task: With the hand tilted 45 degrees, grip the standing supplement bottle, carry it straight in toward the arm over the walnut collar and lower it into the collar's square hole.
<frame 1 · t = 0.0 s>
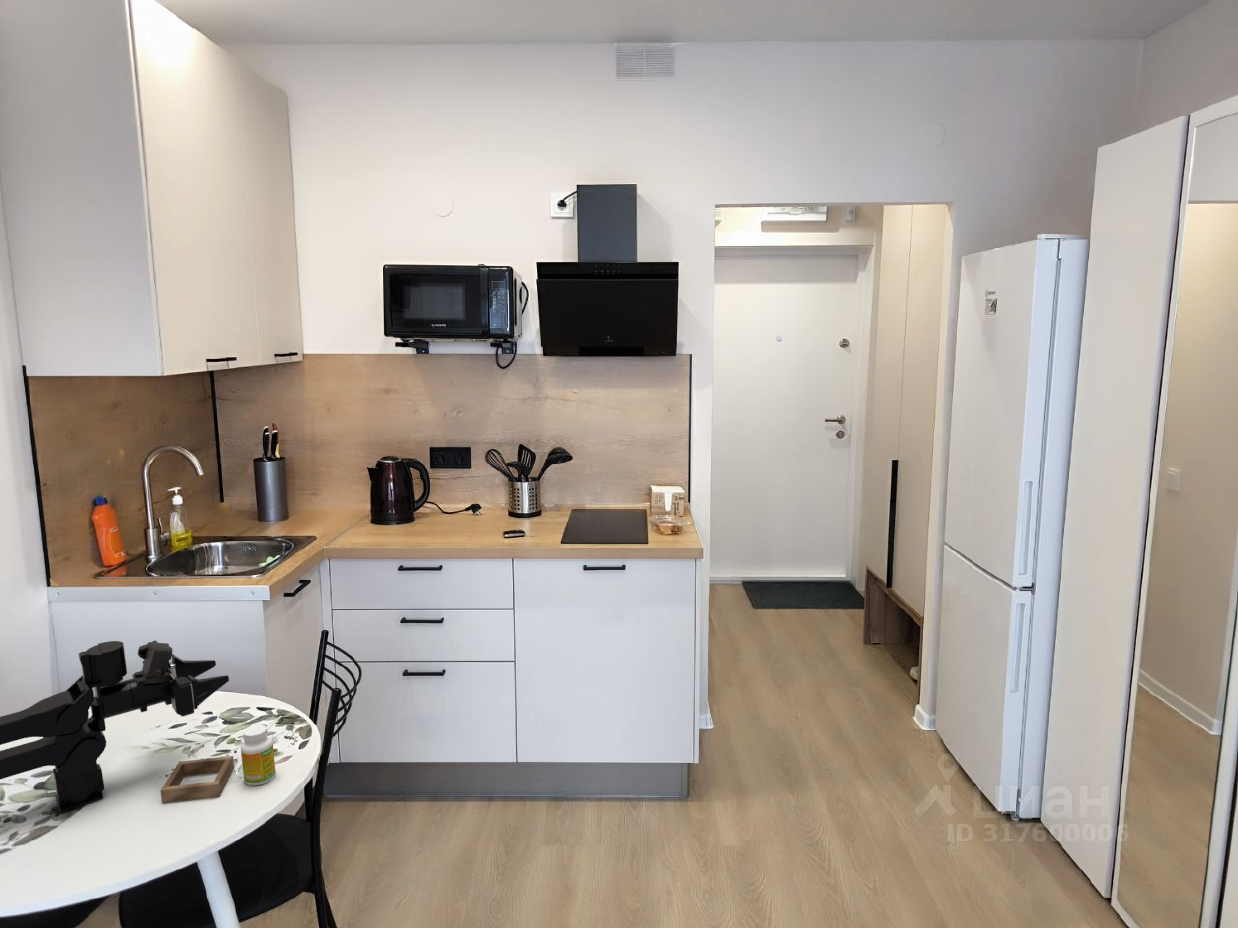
hand: (221, 670, 157), 17 cm above the table, tool horizontal, fingers open, 9 cm apart
supplement bottle: (260, 778, 150), on the table
walnut collar: (199, 784, 148), on the table
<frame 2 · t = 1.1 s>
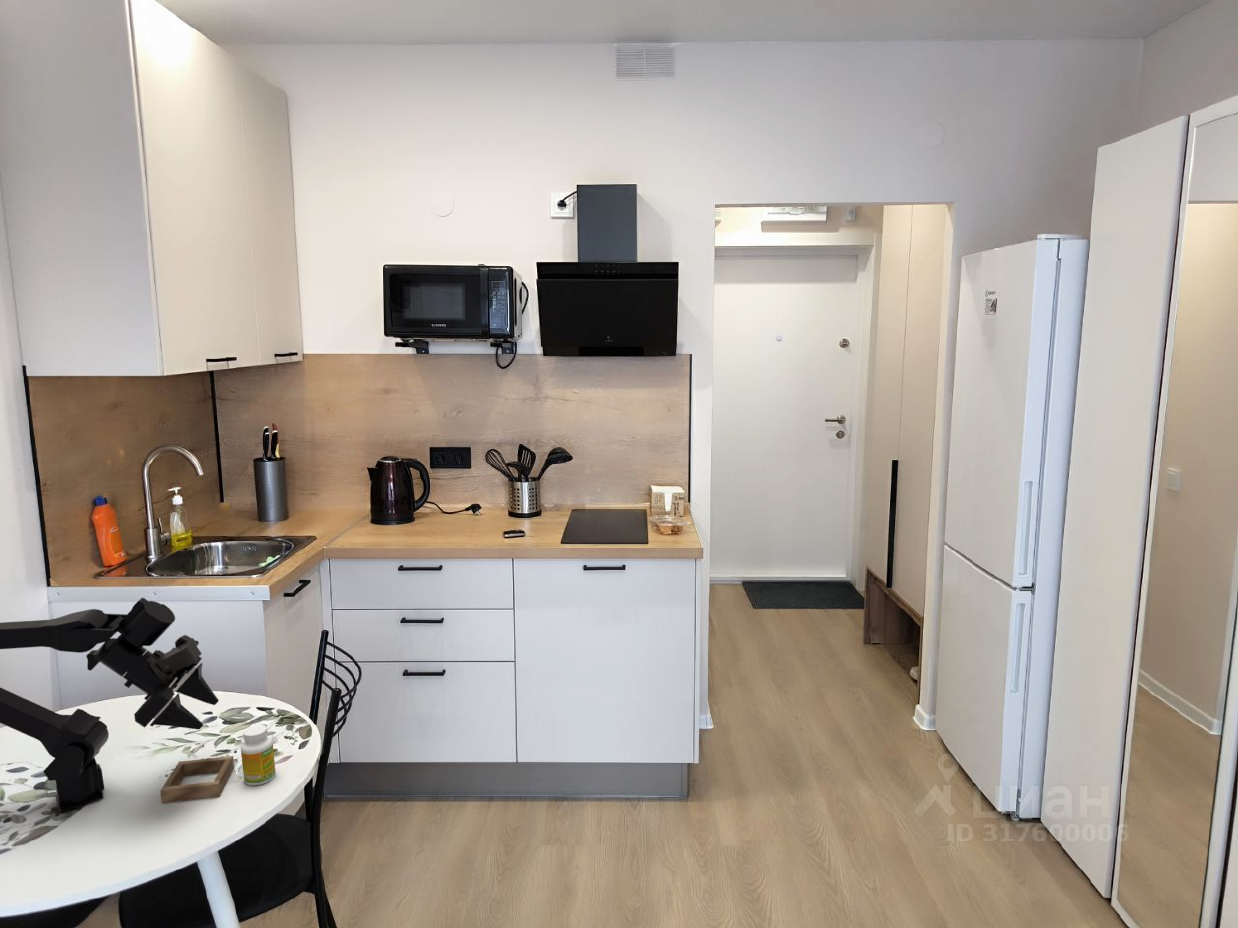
hand: (209, 714, 146), 14 cm above the table, tool tilted 45°, fingers open, 9 cm apart
nothing on the table moved.
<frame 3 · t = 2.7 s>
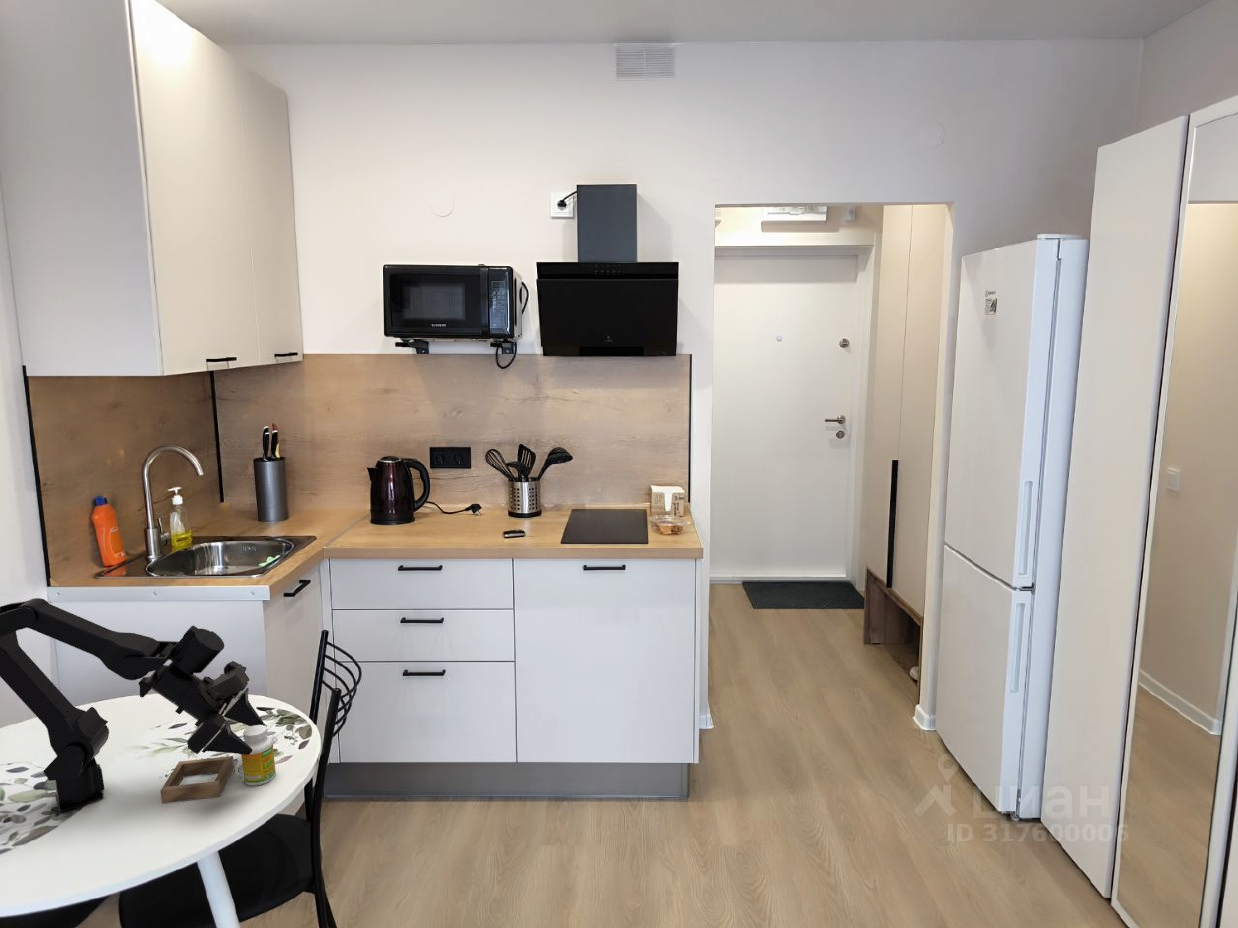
hand: (257, 739, 148), 8 cm above the table, tool tilted 45°, fingers open, 9 cm apart
nothing on the table moved.
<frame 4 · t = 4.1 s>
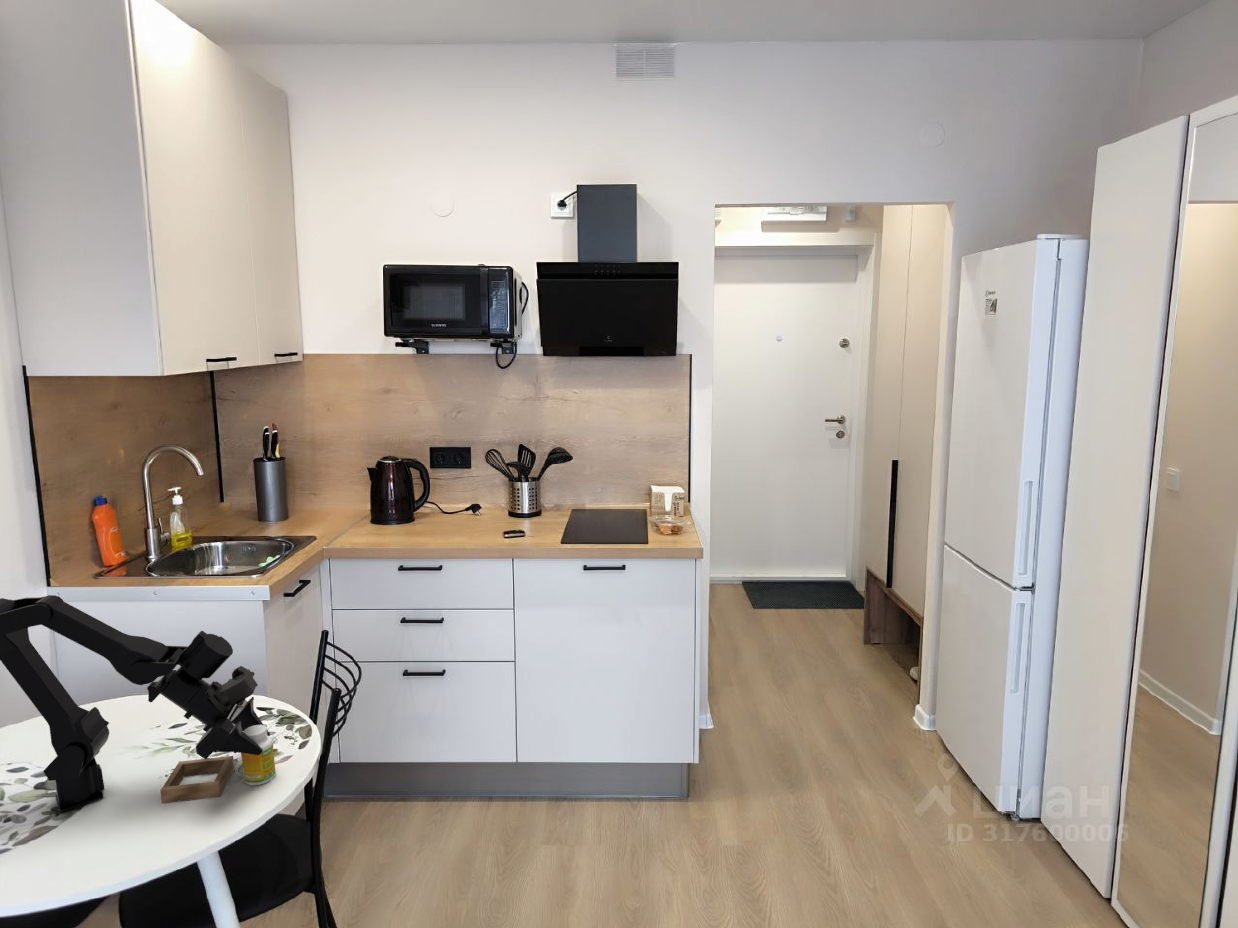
hand: (264, 744, 149), 7 cm above the table, tool tilted 45°, fingers closed on supplement bottle, 5 cm apart
supplement bottle: (260, 778, 150), on the table, touching gripper
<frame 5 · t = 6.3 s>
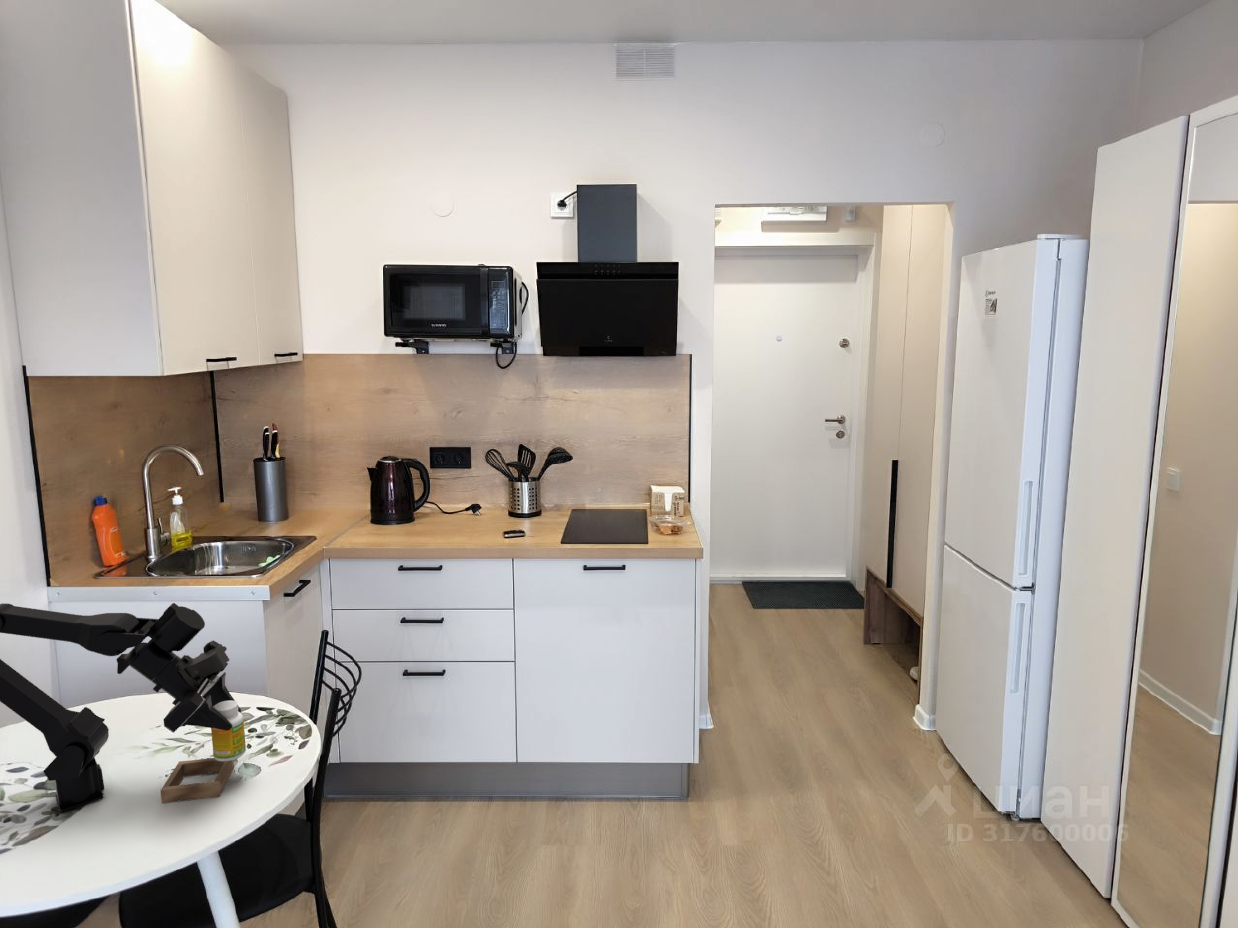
hand: (235, 720, 147), 12 cm above the table, tool tilted 45°, fingers closed on supplement bottle, 5 cm apart
supplement bottle: (230, 755, 148), point 5 cm above the table, touching gripper
when the fingers open (8 cm above the table, at t = 8.6 s): supplement bottle stays where it is, resting in walnut collar.
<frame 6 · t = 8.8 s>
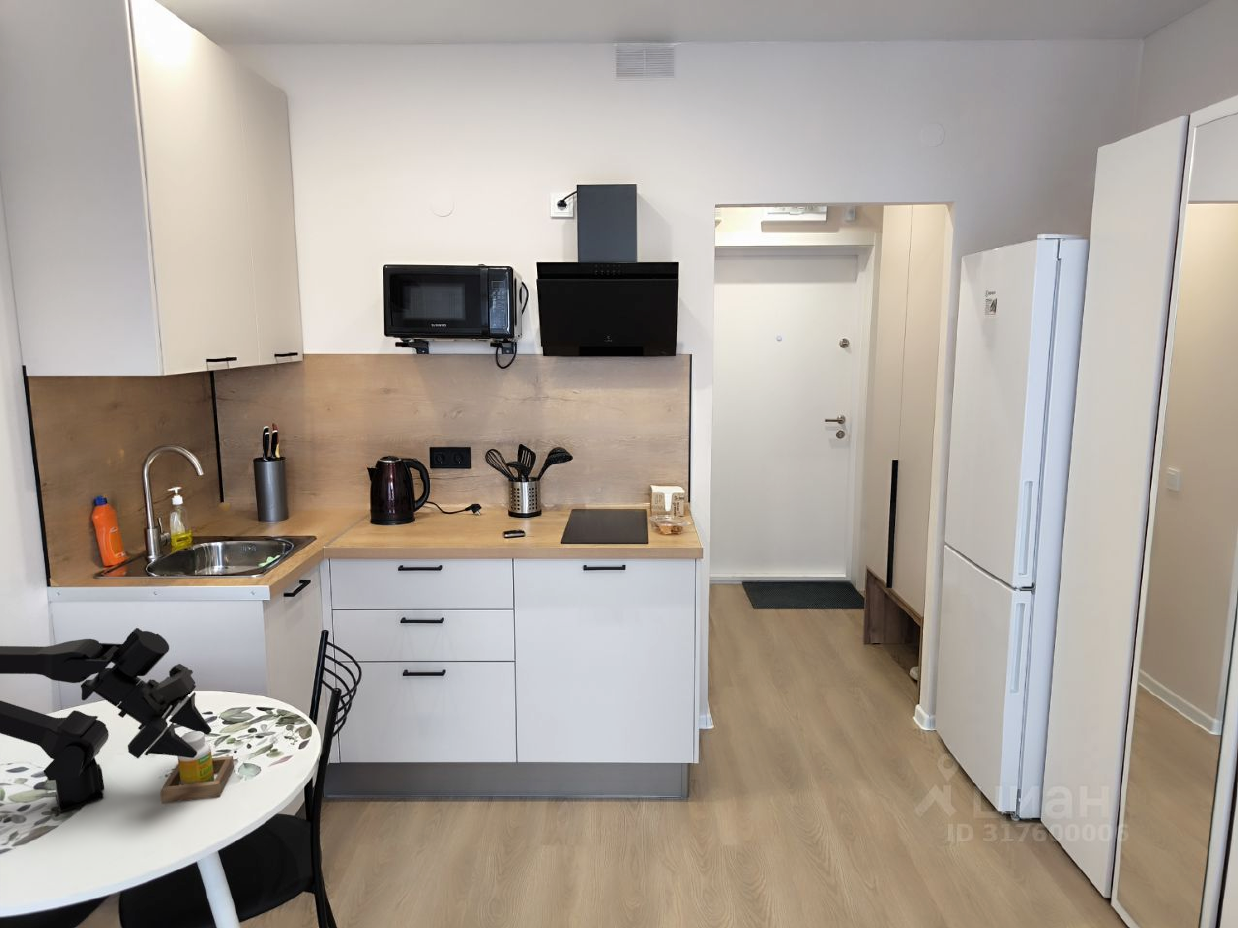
hand: (202, 743, 146), 8 cm above the table, tool tilted 45°, fingers open, 8 cm apart
supplement bottle: (198, 785, 148), resting in walnut collar
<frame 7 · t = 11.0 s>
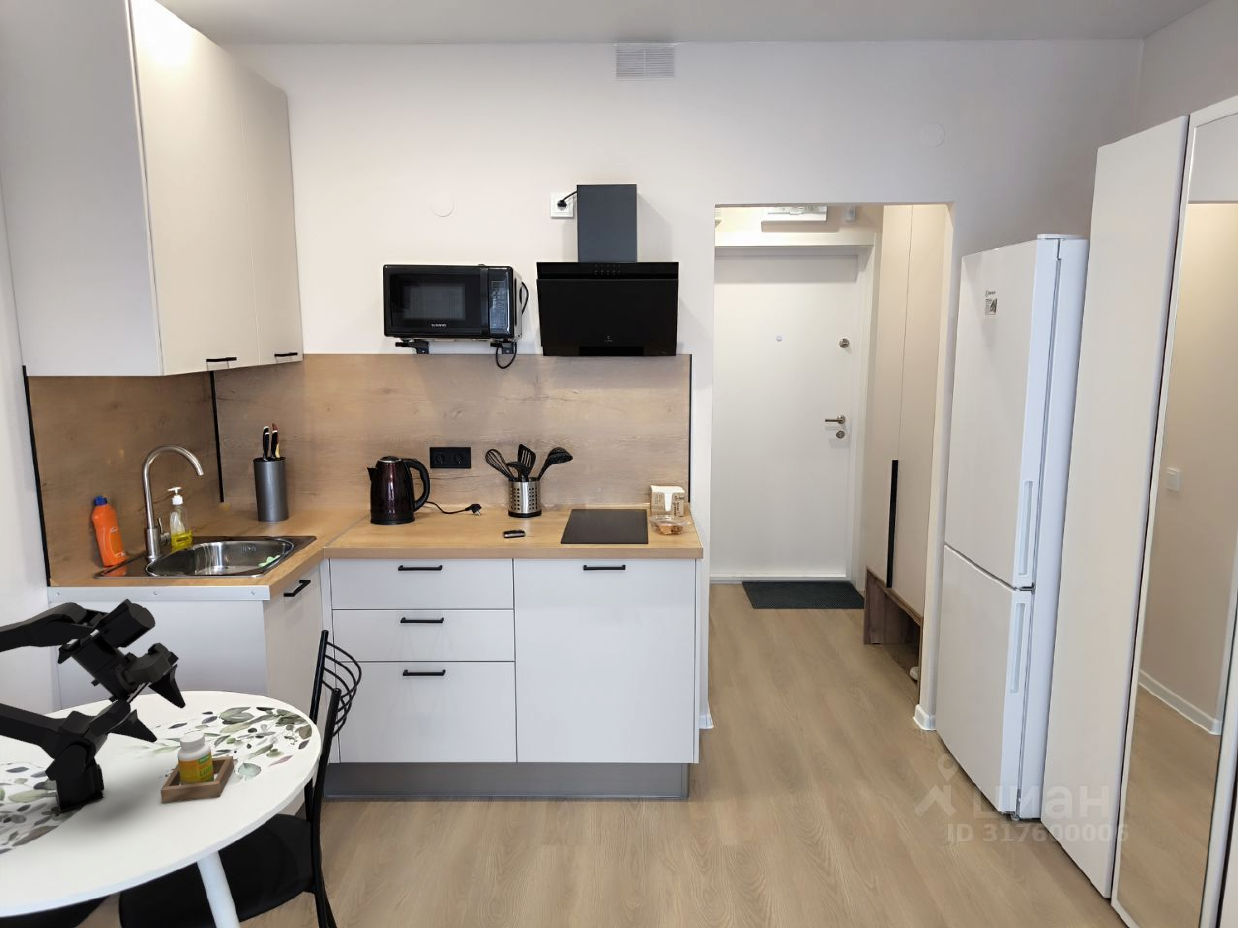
hand: (170, 723, 146), 12 cm above the table, tool tilted 35°, fingers open, 9 cm apart
nothing on the table moved.
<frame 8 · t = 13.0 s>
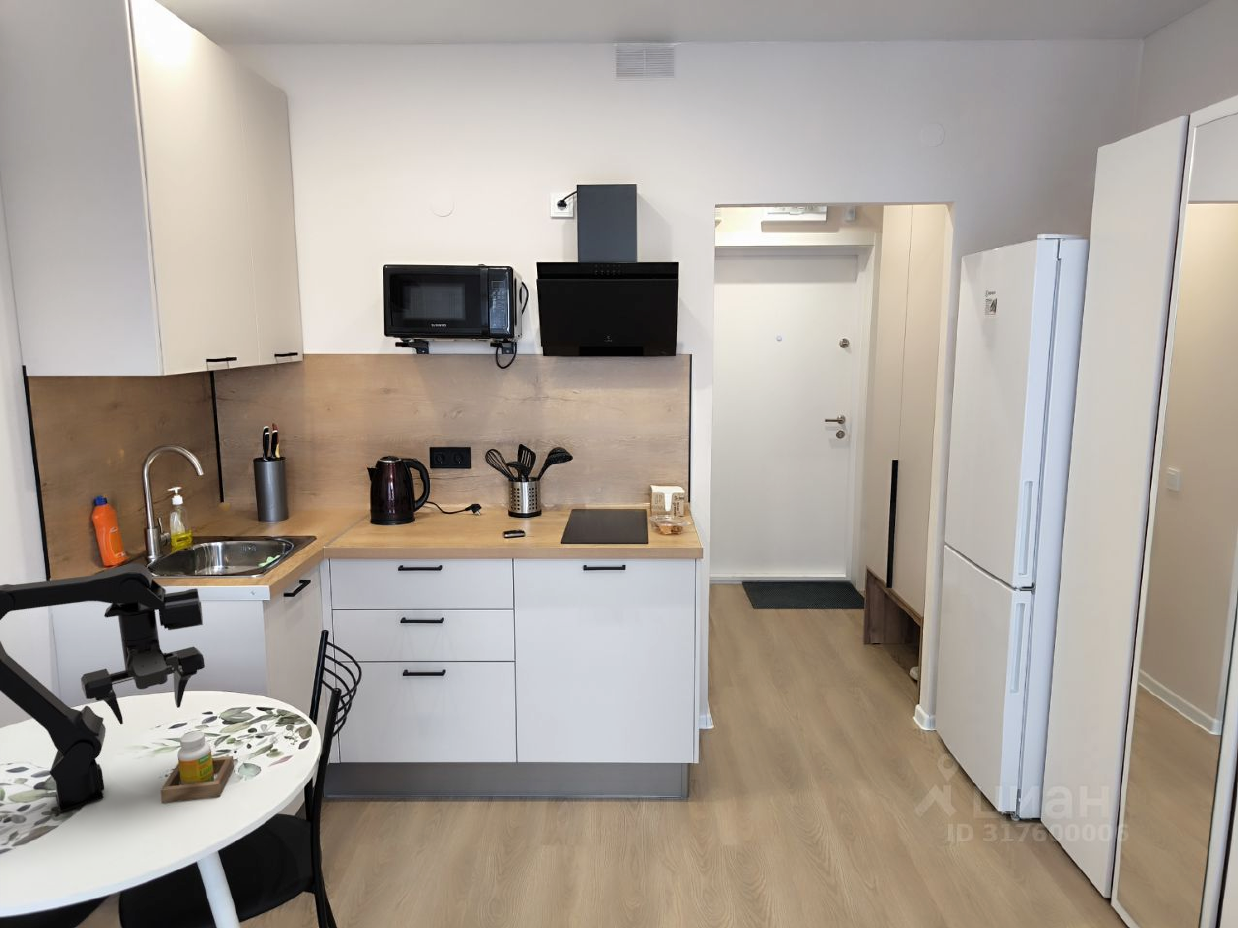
hand: (150, 714, 147), 13 cm above the table, tool pointing down, fingers open, 9 cm apart
nothing on the table moved.
at the end: supplement bottle 0.2 cm off-centre on the walnut collar, point 0.0 cm above the walnut collar's base; supplement bottle tilted 0°; the gripper is holding nothing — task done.
